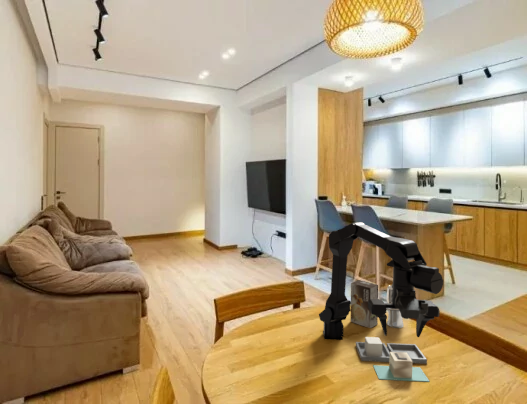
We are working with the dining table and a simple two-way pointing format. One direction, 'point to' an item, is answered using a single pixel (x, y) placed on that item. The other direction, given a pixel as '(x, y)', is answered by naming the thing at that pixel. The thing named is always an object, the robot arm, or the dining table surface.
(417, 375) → the teal mat
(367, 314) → the coffee box
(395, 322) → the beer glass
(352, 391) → the dining table surface
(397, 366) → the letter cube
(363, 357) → the tray
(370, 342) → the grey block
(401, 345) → the tray
